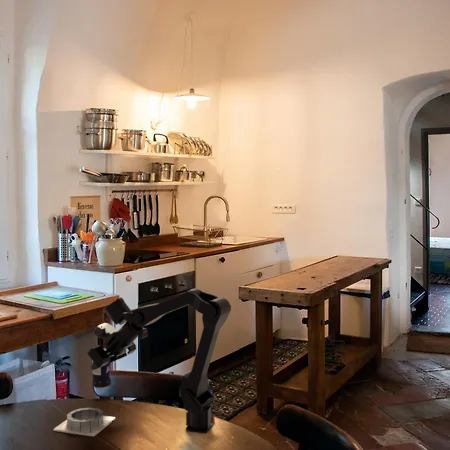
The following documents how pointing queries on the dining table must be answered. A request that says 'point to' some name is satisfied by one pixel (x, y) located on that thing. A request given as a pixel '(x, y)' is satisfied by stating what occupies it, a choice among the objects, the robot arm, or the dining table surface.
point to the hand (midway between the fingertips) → (98, 366)
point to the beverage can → (102, 376)
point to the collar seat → (85, 422)
